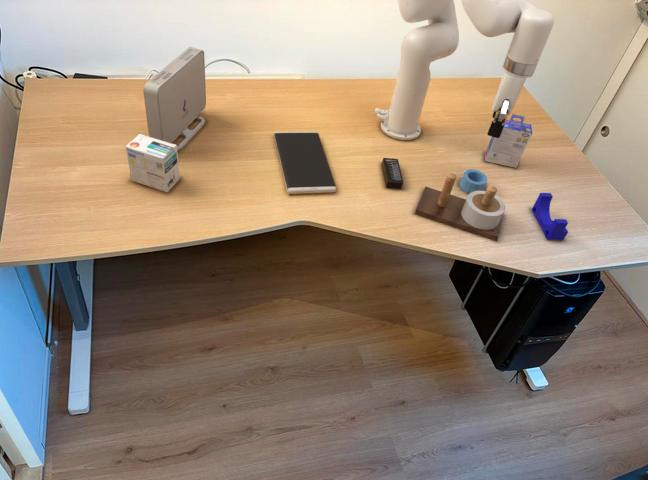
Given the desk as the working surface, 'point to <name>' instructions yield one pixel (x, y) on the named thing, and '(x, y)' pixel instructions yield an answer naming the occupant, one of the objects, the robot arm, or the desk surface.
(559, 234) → the cable clip
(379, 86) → the desk surface
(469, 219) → the tape stand
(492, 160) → the ink cartridge box
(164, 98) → the network device
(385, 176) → the multiport hub
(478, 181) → the tape roll
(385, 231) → the desk surface
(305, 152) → the smartphone
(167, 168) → the light bulb box
